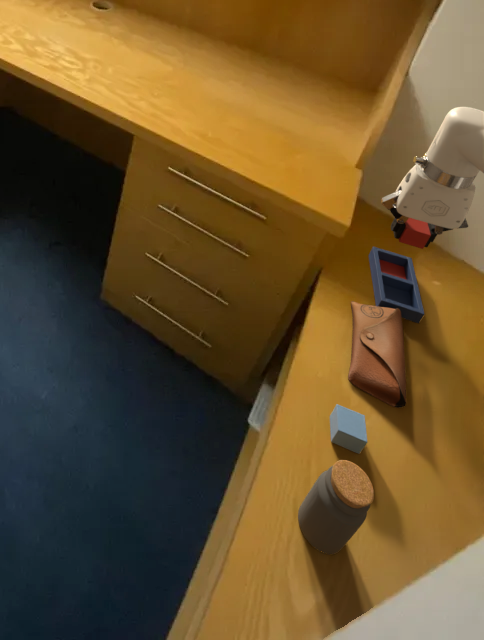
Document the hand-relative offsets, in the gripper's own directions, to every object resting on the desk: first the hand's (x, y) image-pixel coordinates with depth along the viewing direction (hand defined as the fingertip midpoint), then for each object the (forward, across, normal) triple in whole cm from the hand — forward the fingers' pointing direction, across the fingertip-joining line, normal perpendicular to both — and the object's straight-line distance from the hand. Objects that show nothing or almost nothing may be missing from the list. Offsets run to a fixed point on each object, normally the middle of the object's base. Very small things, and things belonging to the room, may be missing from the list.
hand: (409, 236), depth 100 cm
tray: (+12, 0, -3) cm, 12 cm away
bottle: (+12, -15, -50) cm, 54 cm away
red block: (0, 0, 0) cm, 0 cm away
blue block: (+12, -11, -36) cm, 40 cm away
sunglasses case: (+12, -5, -19) cm, 23 cm away
